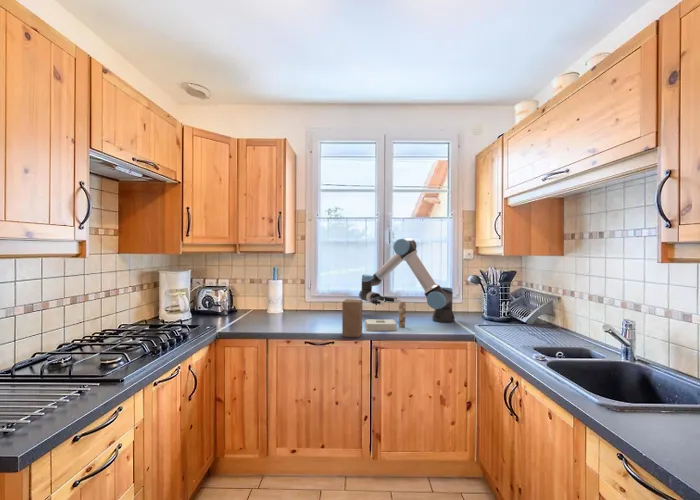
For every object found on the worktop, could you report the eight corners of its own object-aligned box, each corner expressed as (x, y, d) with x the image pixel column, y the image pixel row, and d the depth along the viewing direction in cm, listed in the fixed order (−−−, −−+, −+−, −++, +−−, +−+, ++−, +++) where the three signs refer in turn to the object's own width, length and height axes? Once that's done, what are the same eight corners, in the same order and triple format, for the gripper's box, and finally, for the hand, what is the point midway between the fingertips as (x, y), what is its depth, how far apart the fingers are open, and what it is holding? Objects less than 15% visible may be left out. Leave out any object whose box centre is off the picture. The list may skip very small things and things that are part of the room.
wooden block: (359, 337, 206) (359, 302, 205) (342, 336, 208) (342, 301, 207) (362, 333, 216) (362, 299, 215) (345, 332, 218) (346, 299, 217)
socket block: (393, 325, 236) (393, 319, 236) (396, 330, 223) (396, 324, 223) (365, 325, 235) (365, 319, 235) (366, 330, 222) (366, 323, 222)
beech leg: (404, 326, 234) (405, 301, 234) (405, 327, 230) (406, 302, 230) (398, 326, 234) (398, 301, 234) (398, 327, 230) (399, 302, 230)
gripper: (388, 301, 265) (406, 306, 247) (359, 304, 252) (376, 309, 234) (388, 291, 265) (407, 295, 247) (359, 293, 252) (376, 298, 234)
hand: (392, 302), depth 240 cm, fingers open, 13 cm apart
